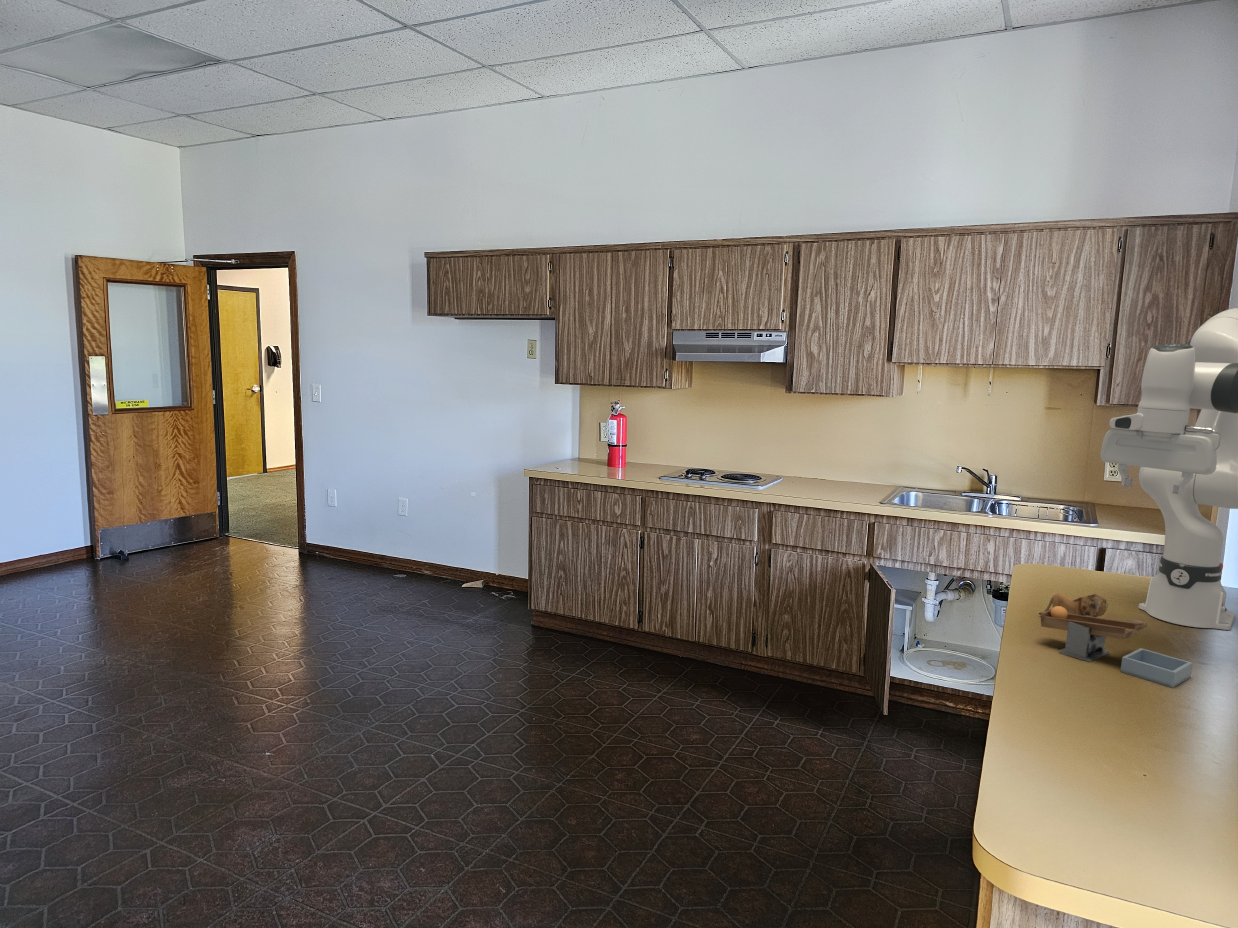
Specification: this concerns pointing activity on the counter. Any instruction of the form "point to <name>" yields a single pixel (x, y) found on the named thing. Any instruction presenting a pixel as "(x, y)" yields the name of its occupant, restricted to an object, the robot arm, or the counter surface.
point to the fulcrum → (1083, 643)
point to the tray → (1156, 667)
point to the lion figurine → (1081, 604)
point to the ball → (1058, 612)
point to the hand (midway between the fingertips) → (1151, 490)
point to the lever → (1095, 625)
